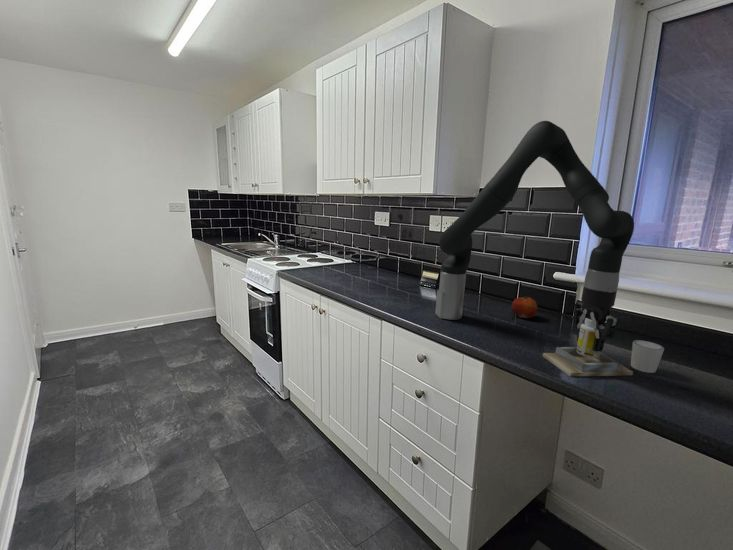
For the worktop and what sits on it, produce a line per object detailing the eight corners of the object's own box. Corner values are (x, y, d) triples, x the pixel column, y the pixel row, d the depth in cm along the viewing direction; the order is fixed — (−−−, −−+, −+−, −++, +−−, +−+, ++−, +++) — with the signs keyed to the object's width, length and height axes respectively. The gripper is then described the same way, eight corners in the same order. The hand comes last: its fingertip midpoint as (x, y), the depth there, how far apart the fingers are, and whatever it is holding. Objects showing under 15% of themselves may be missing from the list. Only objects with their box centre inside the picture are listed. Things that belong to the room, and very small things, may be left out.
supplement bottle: (603, 356, 98) (611, 321, 96) (591, 360, 95) (598, 324, 93) (583, 348, 103) (590, 315, 100) (571, 351, 100) (577, 317, 98)
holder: (569, 376, 93) (571, 365, 92) (542, 356, 104) (544, 346, 104) (632, 375, 95) (634, 364, 94) (598, 355, 107) (600, 346, 106)
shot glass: (622, 362, 103) (626, 339, 101) (644, 362, 103) (649, 339, 102) (641, 374, 96) (647, 349, 94) (665, 374, 97) (671, 349, 95)
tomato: (538, 321, 135) (541, 301, 133) (512, 319, 136) (515, 299, 135) (532, 314, 144) (535, 295, 142) (508, 311, 145) (510, 292, 144)
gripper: (569, 280, 101) (559, 336, 105) (608, 294, 87) (595, 357, 91) (593, 280, 102) (582, 336, 106) (635, 294, 88) (622, 357, 92)
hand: (588, 345), depth 98 cm, fingers closed on supplement bottle, 5 cm apart
